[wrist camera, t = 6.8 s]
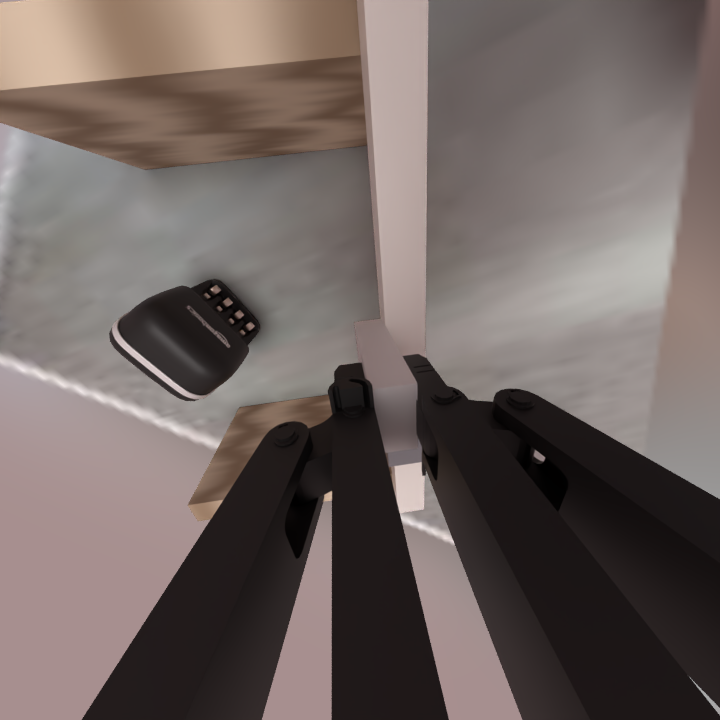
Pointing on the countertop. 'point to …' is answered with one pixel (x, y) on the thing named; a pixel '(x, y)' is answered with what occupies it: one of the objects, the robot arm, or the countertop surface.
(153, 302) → the battery charger
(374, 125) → the pale pink long bar
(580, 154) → the countertop surface
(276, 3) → the wooden stand
